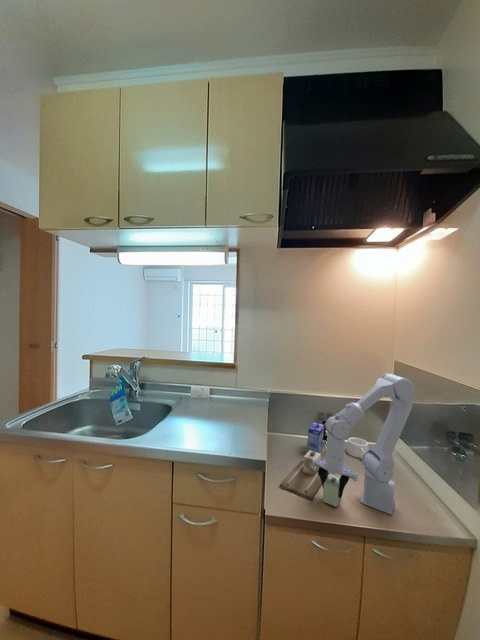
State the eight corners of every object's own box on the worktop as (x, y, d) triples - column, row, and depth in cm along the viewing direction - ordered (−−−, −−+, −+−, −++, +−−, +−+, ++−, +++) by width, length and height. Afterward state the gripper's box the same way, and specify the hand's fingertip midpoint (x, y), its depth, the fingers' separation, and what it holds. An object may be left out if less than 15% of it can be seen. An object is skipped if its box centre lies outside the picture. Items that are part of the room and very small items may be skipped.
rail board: (329, 472, 112) (331, 453, 112) (312, 500, 93) (313, 477, 93) (301, 462, 118) (302, 444, 118) (279, 486, 100) (281, 465, 100)
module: (341, 495, 95) (342, 476, 95) (336, 506, 90) (337, 486, 90) (328, 490, 98) (329, 472, 98) (322, 501, 92) (323, 481, 92)
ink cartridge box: (318, 458, 123) (320, 426, 123) (306, 454, 125) (308, 423, 125) (322, 449, 132) (324, 419, 131) (311, 446, 134) (313, 416, 134)
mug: (343, 448, 135) (344, 435, 135) (363, 450, 134) (364, 437, 134) (351, 460, 123) (352, 447, 123) (374, 462, 122) (375, 449, 122)
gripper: (310, 451, 94) (307, 491, 94) (355, 465, 86) (352, 509, 86) (316, 444, 100) (314, 481, 100) (359, 457, 92) (357, 497, 92)
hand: (332, 493), depth 94 cm, fingers closed on module, 4 cm apart
